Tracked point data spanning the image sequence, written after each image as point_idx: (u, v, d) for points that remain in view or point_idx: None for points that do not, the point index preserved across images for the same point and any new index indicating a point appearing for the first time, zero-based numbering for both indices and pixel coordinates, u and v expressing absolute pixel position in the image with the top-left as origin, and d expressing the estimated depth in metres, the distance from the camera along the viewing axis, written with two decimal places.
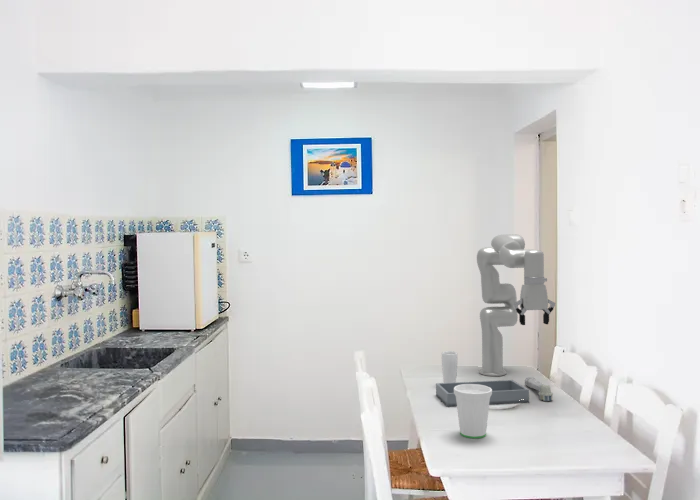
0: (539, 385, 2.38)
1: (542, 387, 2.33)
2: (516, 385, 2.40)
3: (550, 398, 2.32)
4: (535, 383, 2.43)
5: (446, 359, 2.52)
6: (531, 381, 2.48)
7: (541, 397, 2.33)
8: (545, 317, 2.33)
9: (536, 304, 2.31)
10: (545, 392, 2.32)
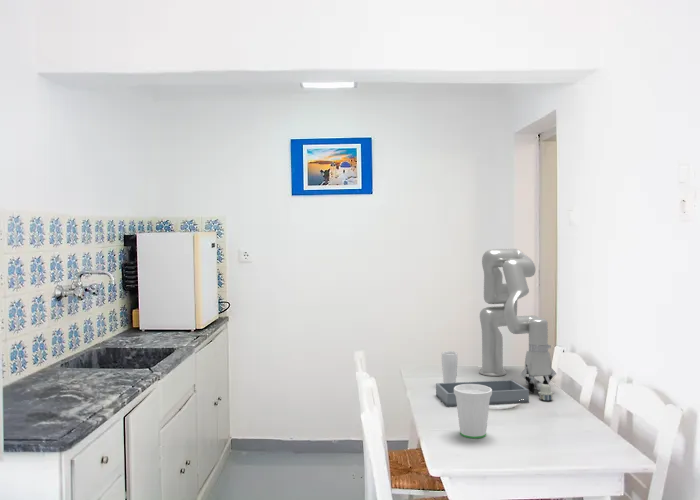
0: (539, 384, 2.39)
1: (542, 386, 2.33)
2: (516, 385, 2.40)
3: (550, 397, 2.32)
4: (535, 382, 2.43)
5: (446, 359, 2.52)
6: None
7: (541, 396, 2.33)
8: None
9: (541, 370, 2.41)
10: (545, 391, 2.32)
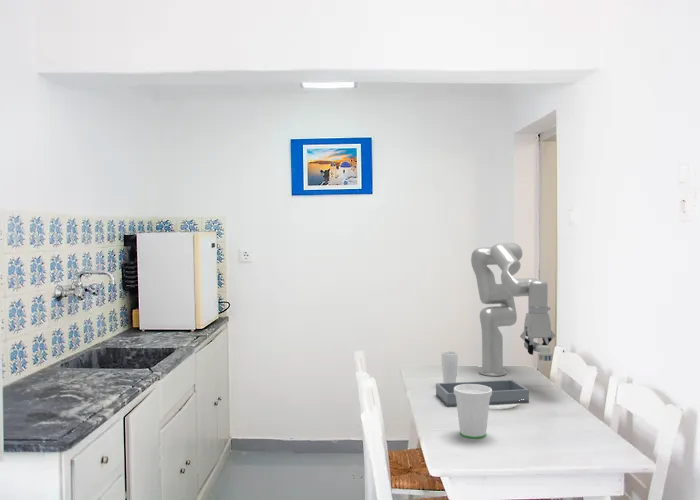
0: (539, 346, 2.38)
1: (542, 347, 2.33)
2: (516, 385, 2.40)
3: (550, 358, 2.32)
4: (535, 344, 2.43)
5: (446, 359, 2.52)
6: None
7: (541, 357, 2.33)
8: None
9: (540, 332, 2.41)
10: (545, 352, 2.32)
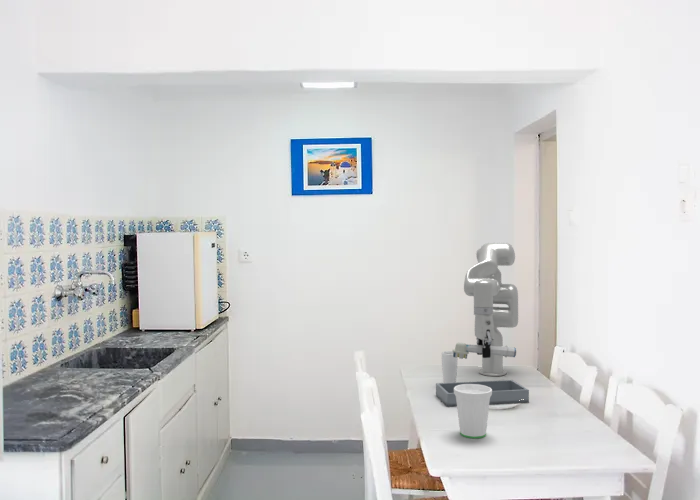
0: None
1: None
2: (516, 385, 2.40)
3: (454, 355, 2.35)
4: None
5: (446, 359, 2.52)
6: None
7: None
8: None
9: (478, 333, 2.35)
10: (455, 348, 2.36)
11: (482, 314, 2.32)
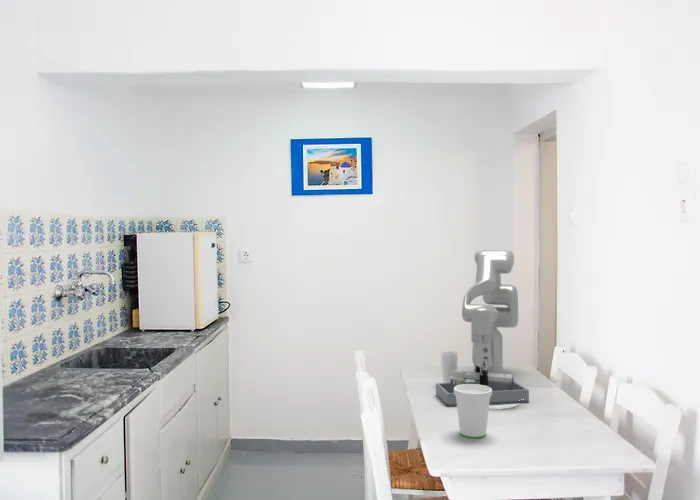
0: None
1: None
2: (516, 385, 2.40)
3: (452, 382, 2.35)
4: None
5: (446, 359, 2.52)
6: None
7: None
8: None
9: (475, 360, 2.36)
10: (452, 375, 2.36)
11: (479, 341, 2.32)
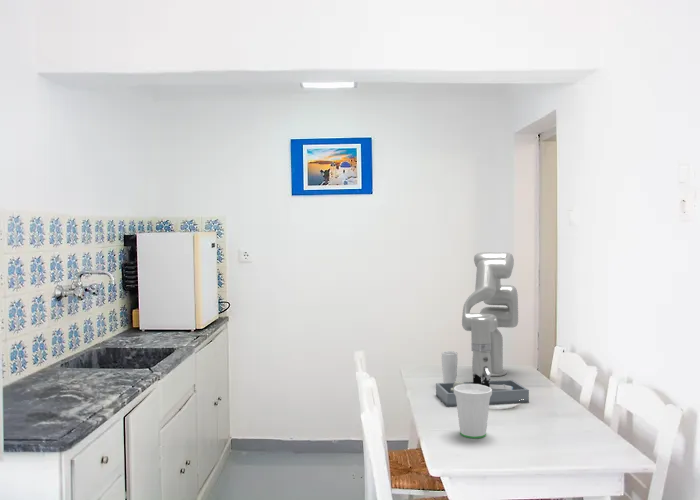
0: None
1: None
2: (516, 385, 2.40)
3: None
4: None
5: (446, 359, 2.52)
6: None
7: None
8: None
9: (475, 369, 2.36)
10: (453, 387, 2.36)
11: (479, 351, 2.32)
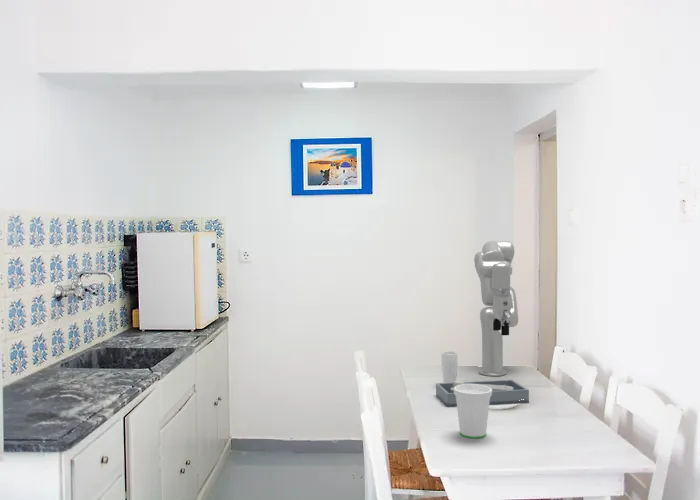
0: None
1: None
2: (516, 385, 2.40)
3: None
4: None
5: (446, 359, 2.52)
6: None
7: None
8: None
9: (495, 313, 2.47)
10: (453, 387, 2.37)
11: (500, 295, 2.43)
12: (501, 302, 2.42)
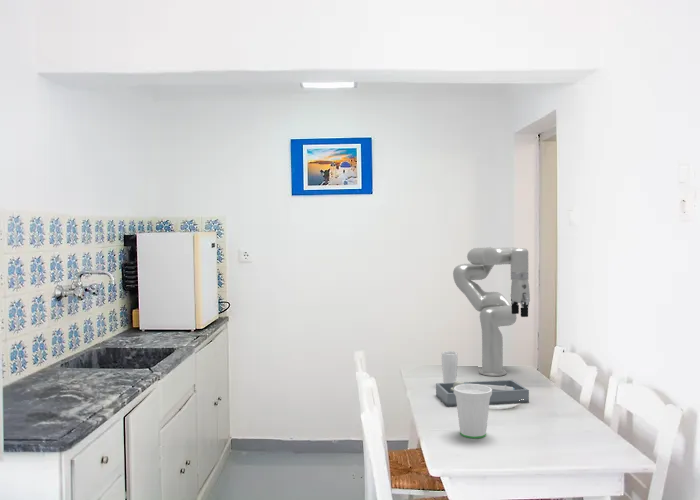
0: None
1: None
2: (516, 385, 2.40)
3: None
4: None
5: (446, 359, 2.52)
6: None
7: None
8: None
9: (514, 296, 2.58)
10: None
11: (519, 279, 2.54)
12: (520, 285, 2.53)
